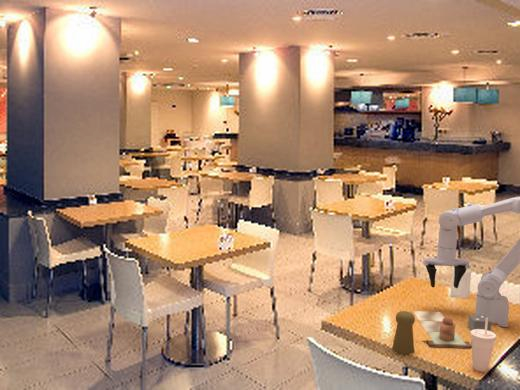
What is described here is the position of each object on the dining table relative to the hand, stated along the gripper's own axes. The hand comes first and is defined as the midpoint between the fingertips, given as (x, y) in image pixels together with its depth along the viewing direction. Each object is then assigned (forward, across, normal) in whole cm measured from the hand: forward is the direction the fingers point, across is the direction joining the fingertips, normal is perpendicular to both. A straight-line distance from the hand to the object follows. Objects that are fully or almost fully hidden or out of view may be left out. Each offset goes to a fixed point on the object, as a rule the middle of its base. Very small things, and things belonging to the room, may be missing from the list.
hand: (444, 286), depth 184 cm
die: (+10, -6, +16) cm, 20 cm away
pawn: (+8, +6, +23) cm, 25 cm away
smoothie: (+10, +2, +40) cm, 41 cm away
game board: (+9, +6, +14) cm, 18 cm away
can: (+10, -12, -18) cm, 23 cm away
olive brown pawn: (+10, +20, +30) cm, 37 cm away
